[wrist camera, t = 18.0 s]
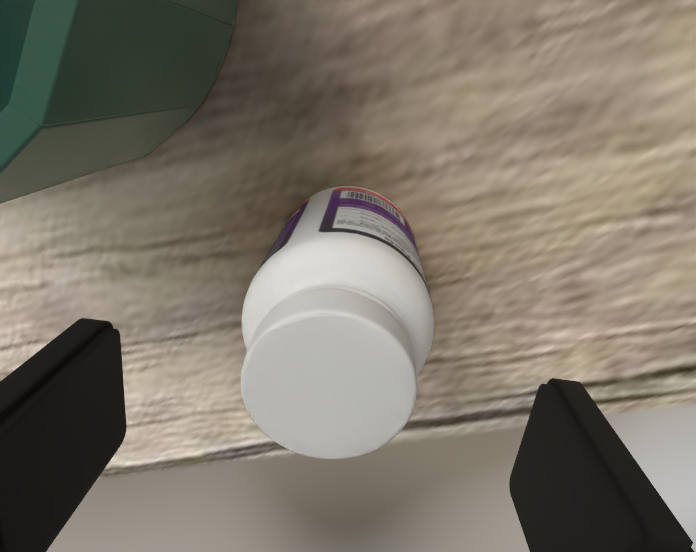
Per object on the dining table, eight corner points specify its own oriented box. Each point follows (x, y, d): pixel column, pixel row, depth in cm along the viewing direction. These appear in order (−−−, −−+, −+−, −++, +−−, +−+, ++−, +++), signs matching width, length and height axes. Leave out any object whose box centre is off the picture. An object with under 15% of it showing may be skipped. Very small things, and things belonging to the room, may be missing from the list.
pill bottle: (317, 324, 21) (274, 508, 12) (260, 214, 19) (160, 332, 10) (434, 281, 20) (483, 446, 11) (385, 160, 18) (396, 239, 9)
